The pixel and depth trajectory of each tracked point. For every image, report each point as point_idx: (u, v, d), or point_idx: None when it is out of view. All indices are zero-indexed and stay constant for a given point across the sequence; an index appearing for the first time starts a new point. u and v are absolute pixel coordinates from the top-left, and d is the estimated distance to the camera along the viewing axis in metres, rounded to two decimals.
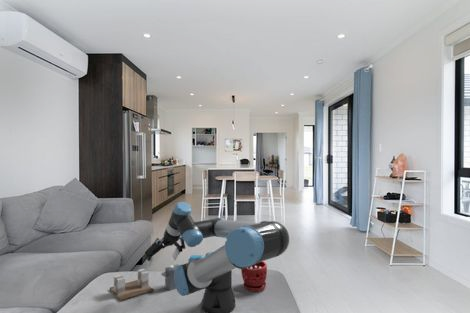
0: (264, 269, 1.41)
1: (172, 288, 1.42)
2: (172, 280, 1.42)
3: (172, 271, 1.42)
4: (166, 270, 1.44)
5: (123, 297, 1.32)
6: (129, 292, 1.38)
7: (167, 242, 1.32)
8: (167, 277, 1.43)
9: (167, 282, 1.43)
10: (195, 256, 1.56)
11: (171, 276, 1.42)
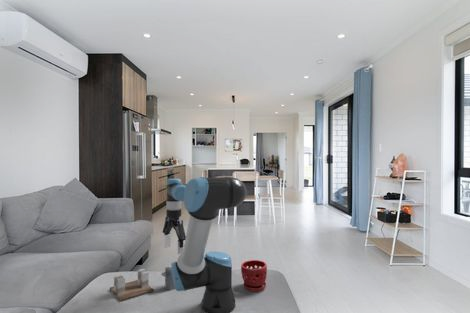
0: (264, 269, 1.41)
1: (172, 288, 1.42)
2: (172, 280, 1.43)
3: None
4: (166, 270, 1.44)
5: (123, 297, 1.32)
6: (129, 292, 1.38)
7: None
8: (167, 277, 1.43)
9: (167, 282, 1.43)
10: None
11: (171, 276, 1.42)
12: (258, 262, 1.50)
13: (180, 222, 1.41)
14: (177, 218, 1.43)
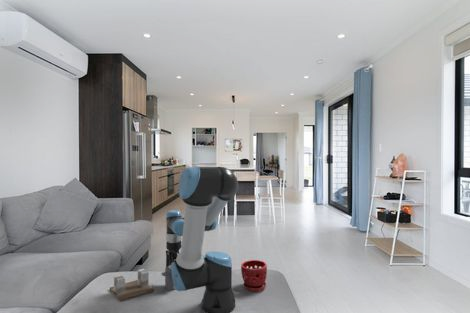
0: (264, 269, 1.41)
1: (172, 288, 1.42)
2: (172, 280, 1.43)
3: None
4: (166, 270, 1.44)
5: (123, 297, 1.32)
6: (129, 292, 1.38)
7: None
8: (167, 277, 1.43)
9: (167, 282, 1.44)
10: None
11: (171, 276, 1.42)
12: (258, 262, 1.50)
13: None
14: (177, 251, 1.43)
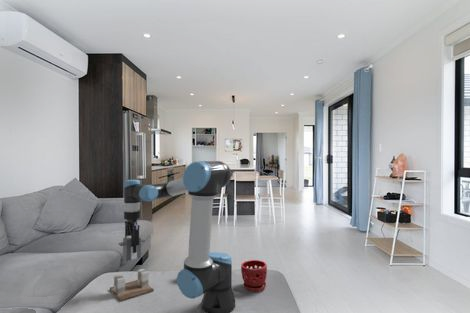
0: (264, 269, 1.41)
1: (129, 258, 1.39)
2: (129, 250, 1.39)
3: (129, 241, 1.39)
4: (124, 240, 1.41)
5: (123, 297, 1.32)
6: (129, 292, 1.38)
7: None
8: (124, 247, 1.40)
9: (124, 253, 1.40)
10: None
11: (128, 246, 1.38)
12: (258, 262, 1.50)
13: (136, 228, 1.37)
14: (134, 220, 1.39)
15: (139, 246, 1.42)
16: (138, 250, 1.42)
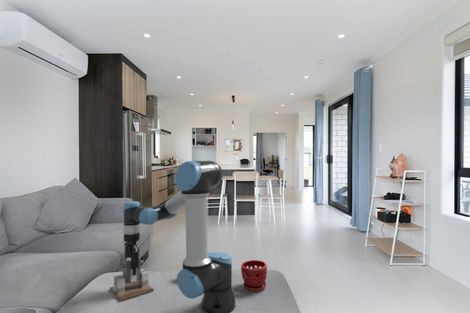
0: (264, 269, 1.41)
1: (129, 281, 1.38)
2: (129, 272, 1.39)
3: (129, 263, 1.39)
4: (123, 262, 1.40)
5: (123, 297, 1.32)
6: (129, 292, 1.38)
7: None
8: (124, 270, 1.39)
9: (124, 275, 1.40)
10: None
11: (128, 268, 1.38)
12: (258, 262, 1.50)
13: (136, 250, 1.37)
14: (134, 243, 1.39)
15: (139, 268, 1.42)
16: (138, 272, 1.41)
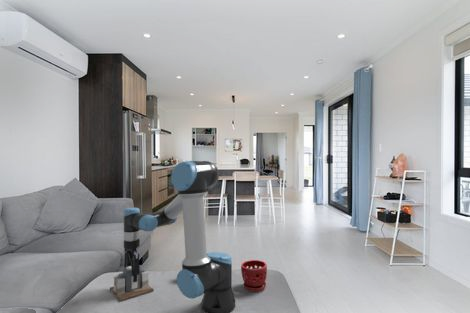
0: (264, 269, 1.41)
1: (129, 290, 1.38)
2: (129, 281, 1.38)
3: (129, 272, 1.38)
4: (123, 271, 1.40)
5: (123, 297, 1.32)
6: (129, 292, 1.38)
7: None
8: None
9: None
10: None
11: (128, 277, 1.38)
12: (258, 262, 1.50)
13: (136, 256, 1.37)
14: (134, 249, 1.39)
15: (139, 277, 1.42)
16: (138, 281, 1.41)
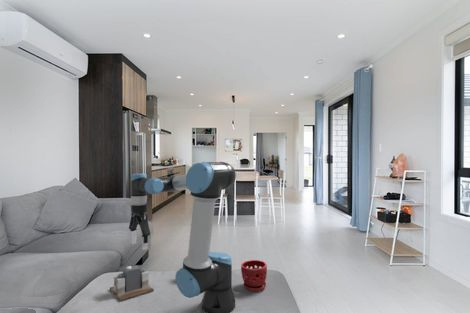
0: (264, 269, 1.41)
1: (129, 290, 1.38)
2: (129, 281, 1.38)
3: (129, 272, 1.38)
4: (123, 271, 1.40)
5: (123, 297, 1.32)
6: (129, 292, 1.38)
7: (135, 216, 1.44)
8: None
9: None
10: None
11: (128, 277, 1.38)
12: (258, 262, 1.50)
13: (144, 217, 1.38)
14: (142, 213, 1.40)
15: (139, 277, 1.42)
16: (138, 281, 1.41)
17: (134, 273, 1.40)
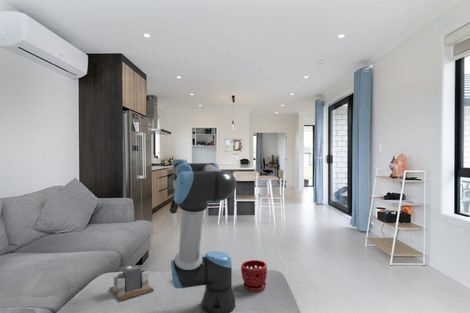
0: (264, 269, 1.41)
1: (129, 290, 1.38)
2: (129, 281, 1.38)
3: (129, 272, 1.38)
4: (123, 271, 1.40)
5: (123, 297, 1.32)
6: (129, 292, 1.38)
7: None
8: None
9: None
10: None
11: (128, 277, 1.38)
12: (258, 262, 1.50)
13: None
14: None
15: (139, 277, 1.42)
16: (138, 281, 1.41)
17: (134, 273, 1.40)
